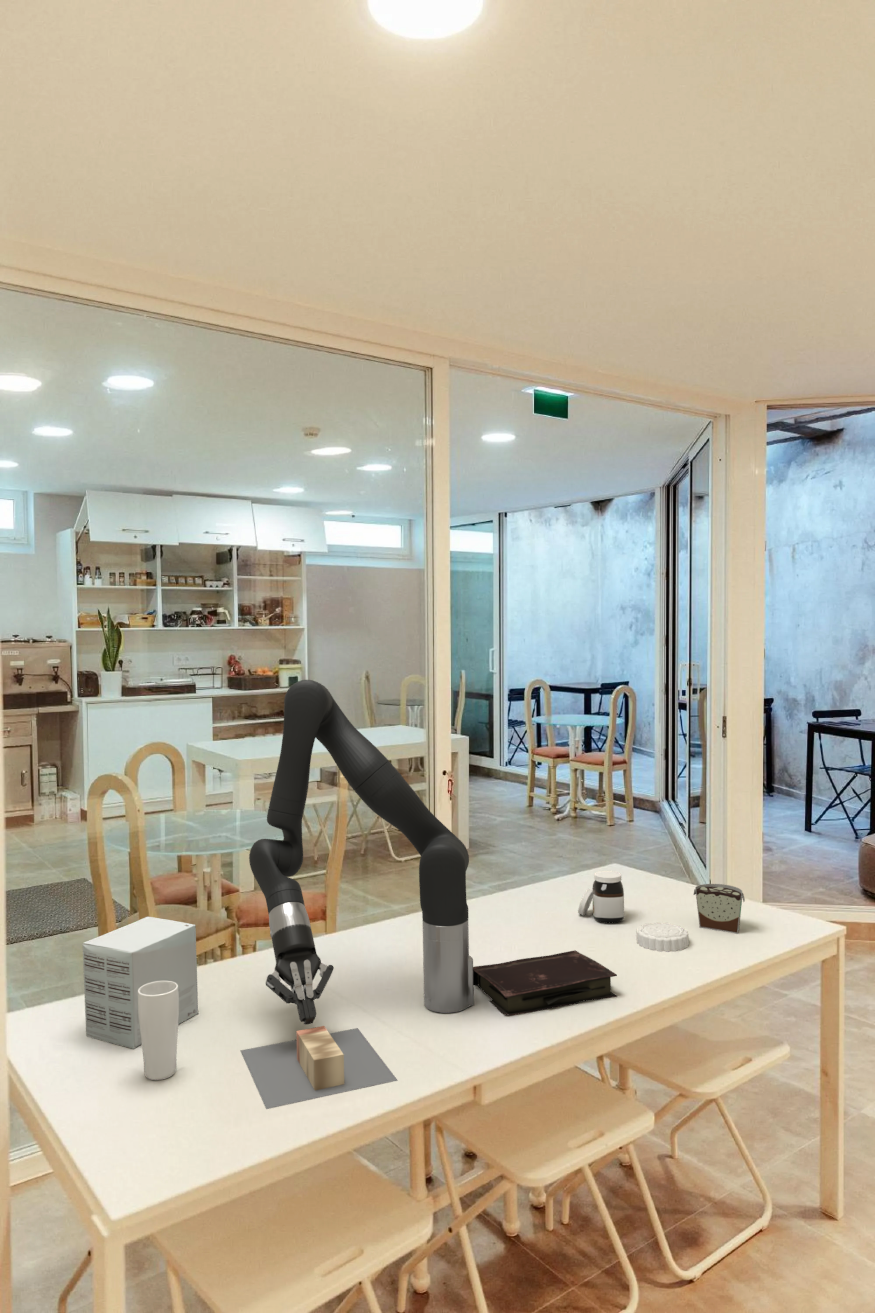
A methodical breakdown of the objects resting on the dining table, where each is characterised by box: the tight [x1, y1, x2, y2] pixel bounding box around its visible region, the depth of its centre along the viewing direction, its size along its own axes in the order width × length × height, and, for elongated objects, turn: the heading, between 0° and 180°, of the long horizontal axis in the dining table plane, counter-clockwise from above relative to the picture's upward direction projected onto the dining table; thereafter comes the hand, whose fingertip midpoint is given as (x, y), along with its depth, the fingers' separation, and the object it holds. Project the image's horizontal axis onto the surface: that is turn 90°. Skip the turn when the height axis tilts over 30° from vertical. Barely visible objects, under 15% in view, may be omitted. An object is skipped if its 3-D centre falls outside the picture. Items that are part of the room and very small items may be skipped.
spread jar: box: [577, 870, 625, 924], centre depth 238 cm, size 12×11×12 cm
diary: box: [473, 949, 618, 1017], centre depth 192 cm, size 19×25×5 cm
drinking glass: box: [138, 981, 179, 1081], centre depth 159 cm, size 7×7×15 cm
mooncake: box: [635, 922, 689, 953], centre depth 219 cm, size 12×12×4 cm
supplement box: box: [82, 916, 199, 1050], centre depth 179 cm, size 17×13×18 cm
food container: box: [693, 883, 746, 934], centre depth 229 cm, size 12×6×10 cm, turn 58°
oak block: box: [295, 1025, 344, 1090], centre depth 158 cm, size 5×5×12 cm
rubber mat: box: [240, 1027, 398, 1110], centre depth 160 cm, size 22×22×1 cm
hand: (309, 1022), depth 164 cm, fingers closed
